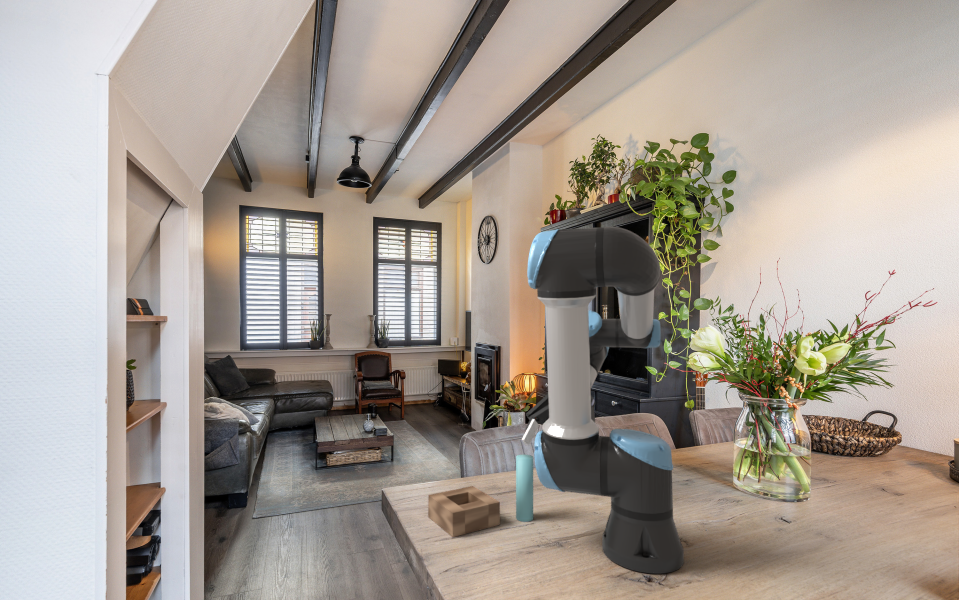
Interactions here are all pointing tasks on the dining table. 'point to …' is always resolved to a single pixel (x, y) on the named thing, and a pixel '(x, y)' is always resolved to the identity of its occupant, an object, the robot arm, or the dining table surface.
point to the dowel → (524, 488)
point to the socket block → (463, 510)
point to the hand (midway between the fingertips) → (546, 447)
